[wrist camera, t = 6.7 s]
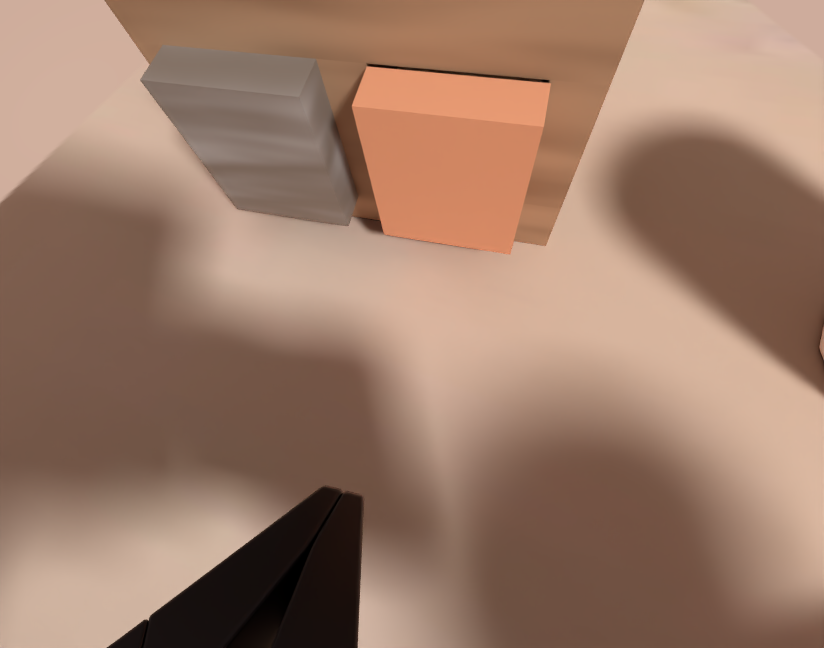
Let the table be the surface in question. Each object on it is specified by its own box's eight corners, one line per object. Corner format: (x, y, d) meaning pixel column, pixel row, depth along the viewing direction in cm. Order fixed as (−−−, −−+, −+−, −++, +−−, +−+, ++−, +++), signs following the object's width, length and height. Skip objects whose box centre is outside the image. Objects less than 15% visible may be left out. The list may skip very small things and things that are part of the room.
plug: (510, 254, 16) (544, 126, 10) (383, 234, 17) (351, 106, 11) (541, 75, 19) (580, -96, 13) (435, 65, 20) (430, -99, 14)
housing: (541, 276, 17) (641, 48, 8) (233, 225, 19) (50, 2, 10) (565, 107, 20) (656, -188, 11) (299, 80, 22) (203, -184, 14)
